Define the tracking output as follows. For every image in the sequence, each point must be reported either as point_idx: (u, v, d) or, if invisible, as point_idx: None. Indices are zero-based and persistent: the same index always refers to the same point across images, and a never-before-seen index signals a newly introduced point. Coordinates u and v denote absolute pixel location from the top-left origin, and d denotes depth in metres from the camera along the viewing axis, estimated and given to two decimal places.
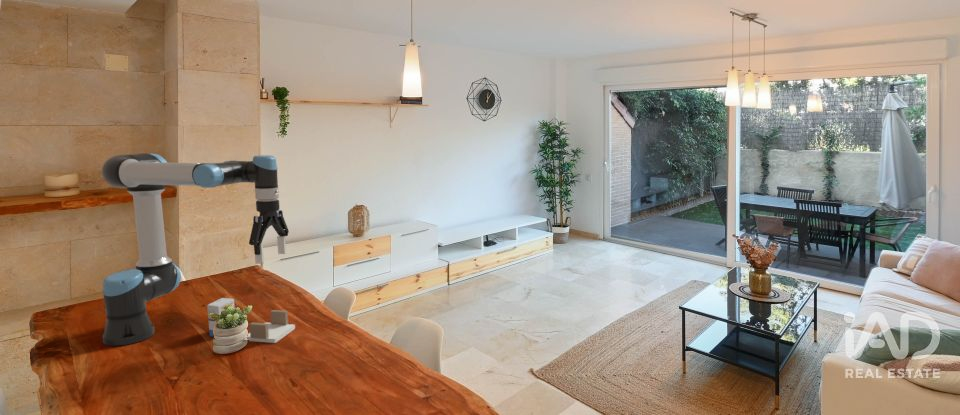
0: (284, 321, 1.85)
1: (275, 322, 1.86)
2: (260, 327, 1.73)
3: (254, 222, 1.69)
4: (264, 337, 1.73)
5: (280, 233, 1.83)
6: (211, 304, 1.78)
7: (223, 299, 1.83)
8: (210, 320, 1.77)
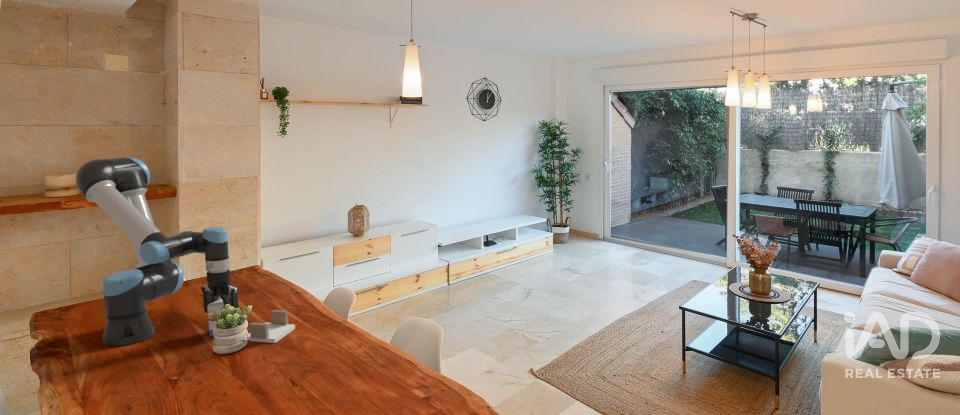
0: (284, 321, 1.85)
1: (275, 322, 1.86)
2: (260, 327, 1.73)
3: None
4: (264, 337, 1.73)
5: None
6: (211, 304, 1.78)
7: None
8: (210, 320, 1.77)
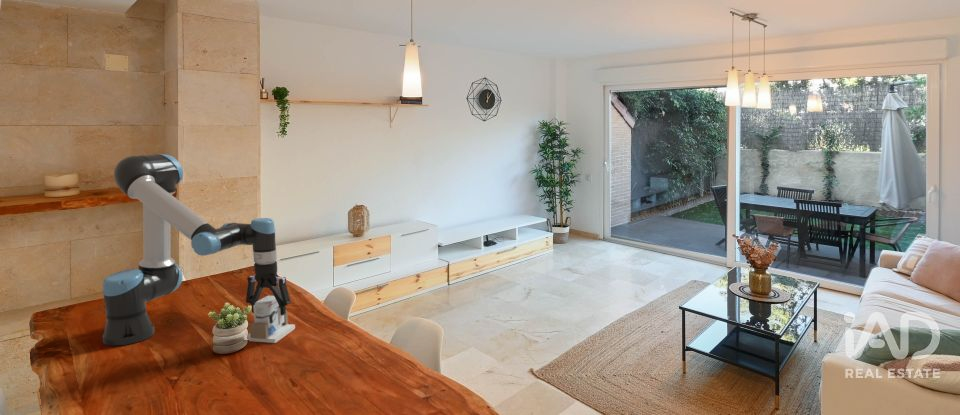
0: None
1: None
2: (260, 327, 1.73)
3: None
4: (264, 337, 1.73)
5: (281, 302, 1.78)
6: (259, 302, 1.76)
7: (269, 297, 1.81)
8: (258, 318, 1.75)
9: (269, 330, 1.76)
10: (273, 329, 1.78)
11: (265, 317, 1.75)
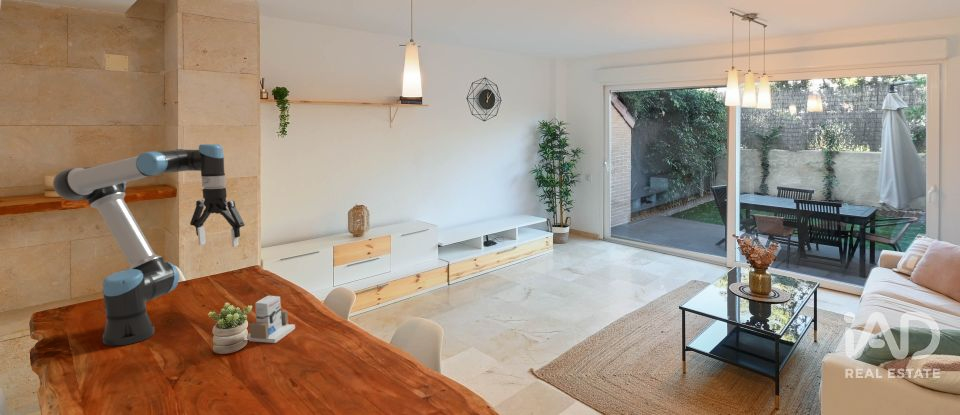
0: (284, 321, 1.85)
1: None
2: (260, 327, 1.73)
3: None
4: (264, 337, 1.73)
5: (235, 225, 1.79)
6: (259, 302, 1.76)
7: (269, 297, 1.81)
8: (258, 318, 1.75)
9: (269, 330, 1.76)
10: (273, 329, 1.78)
11: (266, 317, 1.75)
